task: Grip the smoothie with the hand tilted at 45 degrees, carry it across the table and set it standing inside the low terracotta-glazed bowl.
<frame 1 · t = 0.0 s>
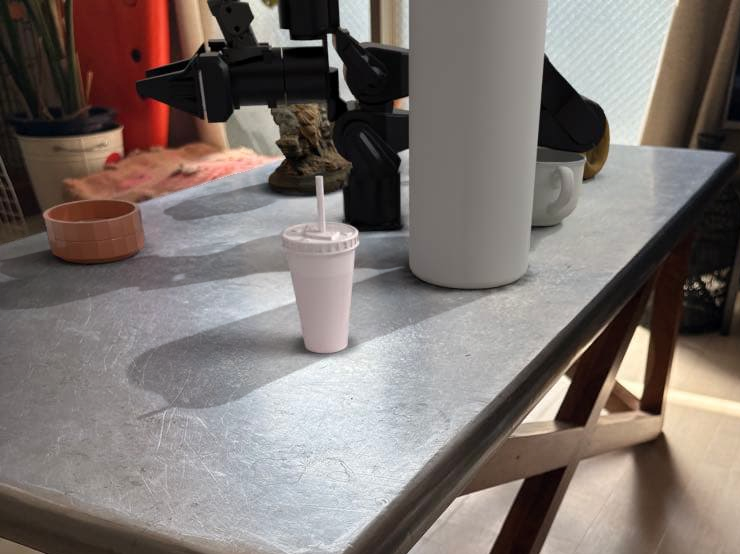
hand: (141, 81, 96), 16 cm above the table, tool horizontal, fingers open, 9 cm apart
teacup: (538, 225, 108), on the table, touching arm
smoothie: (326, 346, 77), on the table
cylinder vase: (468, 273, 93), on the table
brown looped sculpture: (512, 175, 130), on the table
bowl: (100, 251, 99), on the table
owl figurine: (313, 184, 126), on the table
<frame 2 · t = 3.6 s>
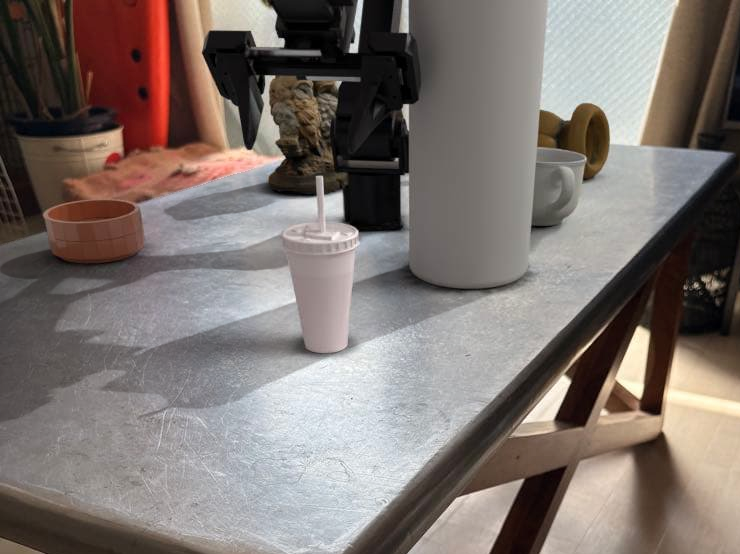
hand: (298, 148, 76), 14 cm above the table, tool tilted 50°, fingers open, 9 cm apart
teacup: (538, 225, 108), on the table
everything else where it was.
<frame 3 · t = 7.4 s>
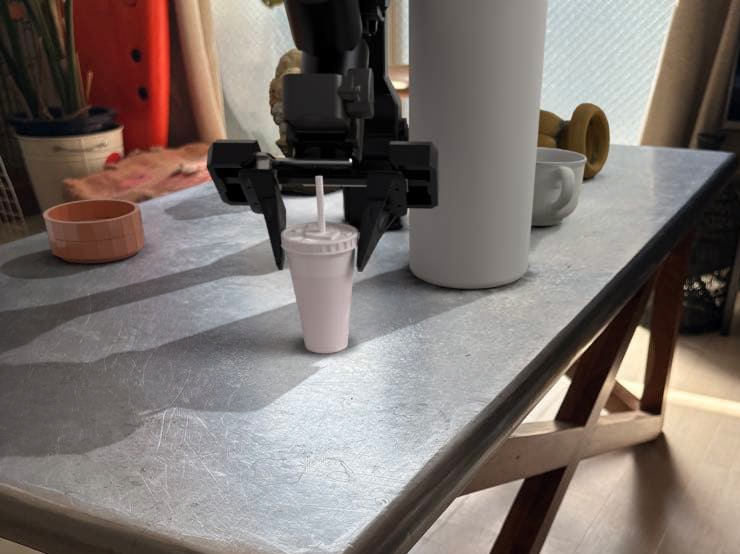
hand: (318, 268, 71), 7 cm above the table, tool tilted 45°, fingers closed on smoothie, 6 cm apart
smoothie: (326, 347, 77), on the table, touching gripper
everything else where it was.
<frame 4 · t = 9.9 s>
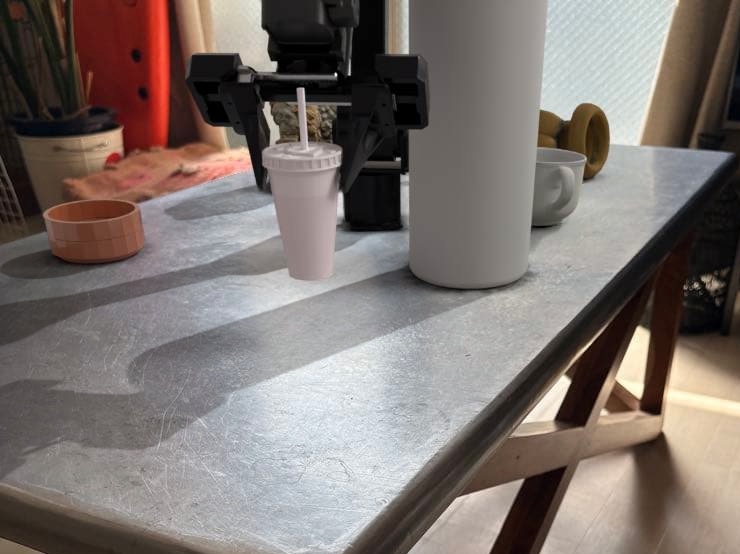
hand: (301, 188, 68), 13 cm above the table, tool tilted 45°, fingers closed on smoothie, 6 cm apart
smoothie: (311, 275, 74), point 6 cm above the table, touching gripper
everything else where it was.
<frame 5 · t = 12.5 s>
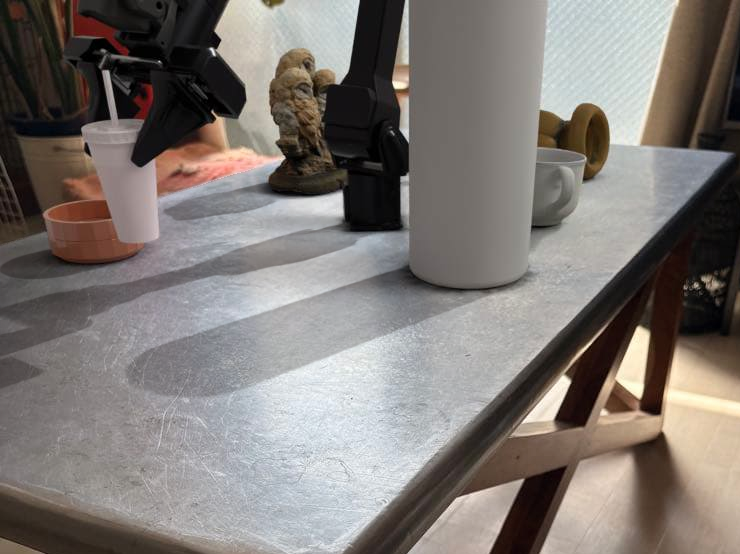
hand: (111, 159, 77), 13 cm above the table, tool tilted 45°, fingers closed on smoothie, 6 cm apart
smoothie: (139, 239, 82), point 6 cm above the table, touching gripper
everything else where it was.
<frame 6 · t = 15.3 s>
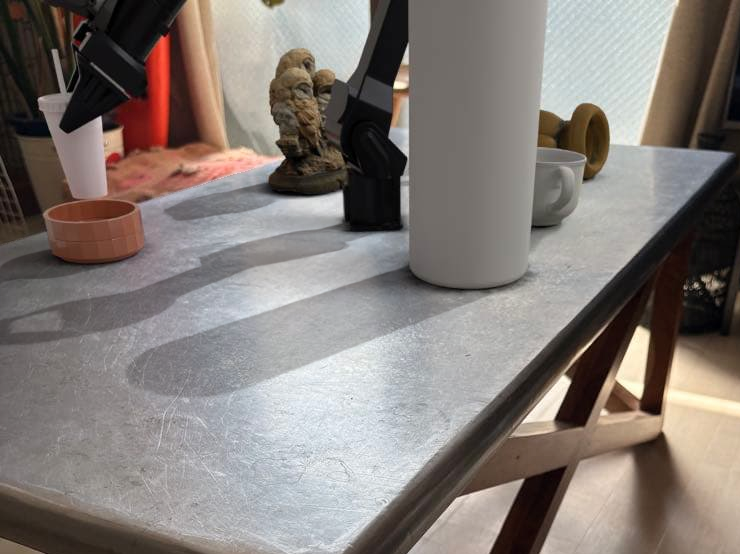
hand: (61, 125, 91), 13 cm above the table, tool tilted 45°, fingers closed on smoothie, 6 cm apart
smoothie: (90, 196, 96), point 6 cm above the table, touching gripper
everything else where it was.
when the fingers open (8 cm above the table, at t = 17.5 s): smoothie stays where it is, resting on bowl.
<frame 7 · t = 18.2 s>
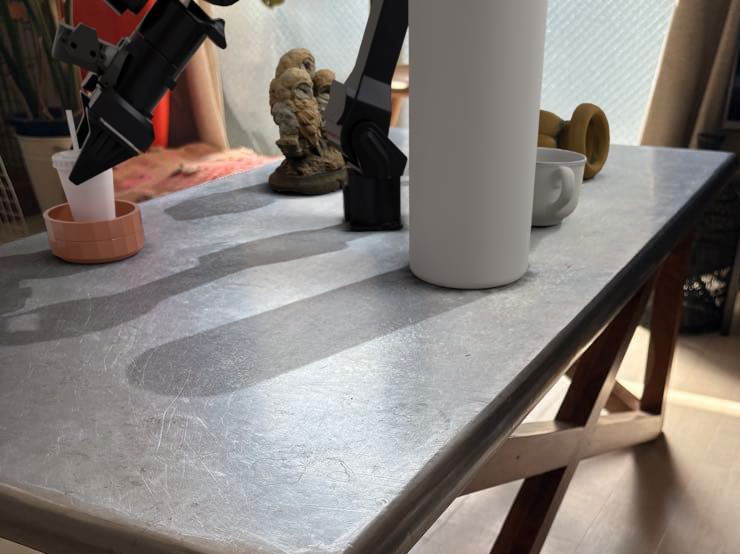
hand: (70, 173, 94), 9 cm above the table, tool tilted 45°, fingers open, 9 cm apart
smoothie: (100, 247, 99), resting on bowl
everything else where it was.
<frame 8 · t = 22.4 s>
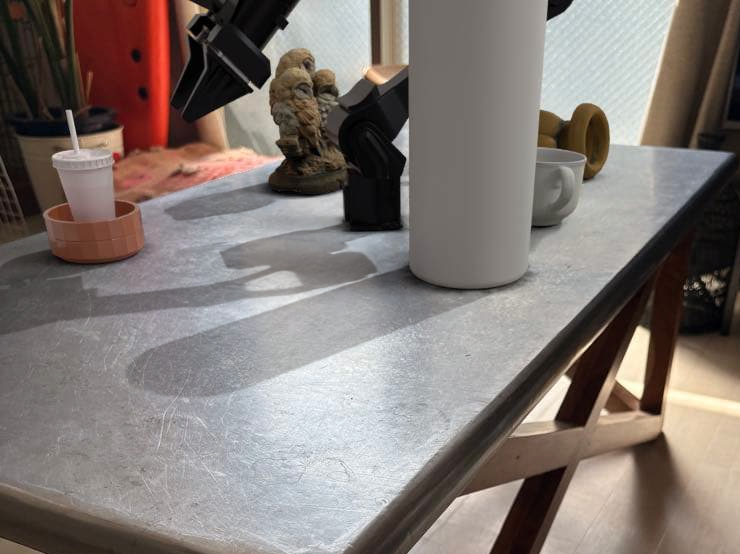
hand: (178, 113, 95), 14 cm above the table, tool tilted 45°, fingers open, 9 cm apart
nothing on the table moved.
at the end: smoothie 0.2 cm off-centre in the bowl, point 0.4 cm above the bowl's base; smoothie tilted 0°; the gripper is holding nothing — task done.
